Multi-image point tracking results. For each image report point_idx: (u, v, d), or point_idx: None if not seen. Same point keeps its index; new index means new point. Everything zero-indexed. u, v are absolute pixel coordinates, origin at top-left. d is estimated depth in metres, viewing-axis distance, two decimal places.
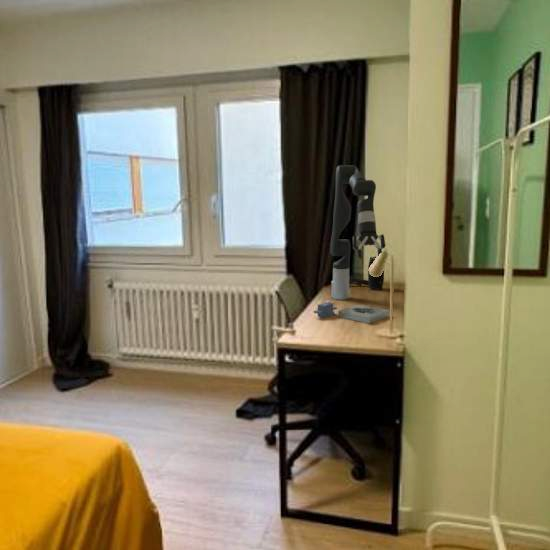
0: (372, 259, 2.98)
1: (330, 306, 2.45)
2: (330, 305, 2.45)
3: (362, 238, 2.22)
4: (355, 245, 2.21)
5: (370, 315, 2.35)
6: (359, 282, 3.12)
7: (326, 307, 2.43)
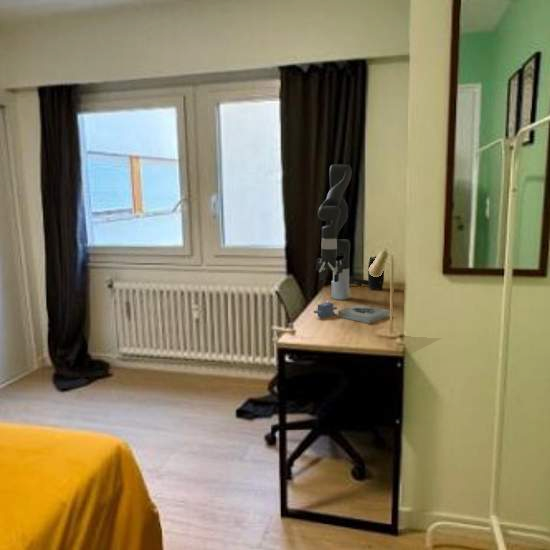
0: (372, 259, 2.98)
1: (330, 306, 2.45)
2: (330, 305, 2.45)
3: (322, 262, 2.43)
4: (317, 268, 2.46)
5: (370, 315, 2.35)
6: (359, 282, 3.12)
7: (326, 307, 2.43)
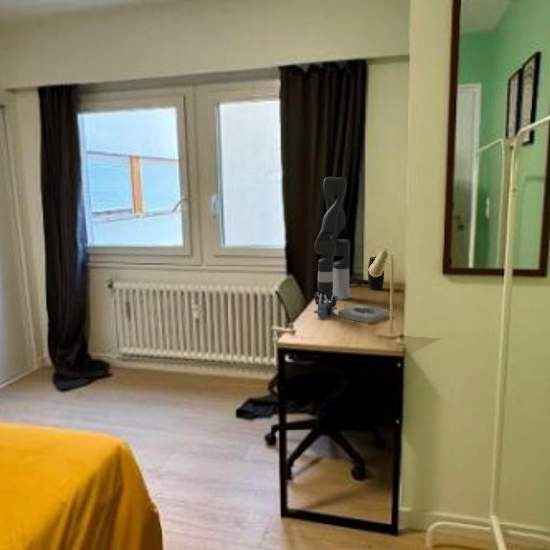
0: (372, 259, 2.98)
1: None
2: None
3: (319, 295, 2.46)
4: (316, 302, 2.48)
5: (370, 315, 2.35)
6: (359, 282, 3.12)
7: (326, 307, 2.43)
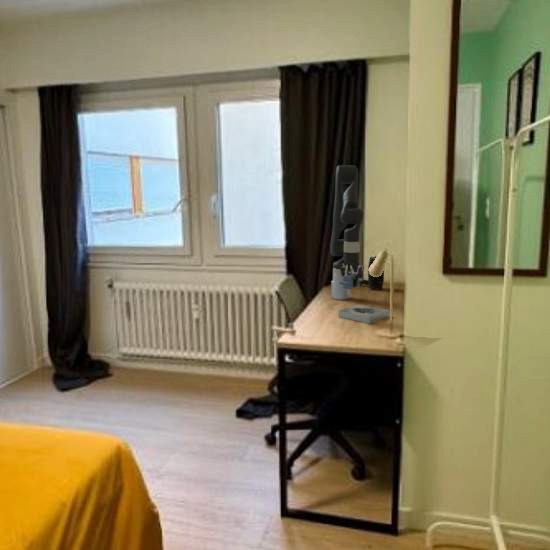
0: (372, 259, 2.98)
1: None
2: None
3: (345, 266, 2.41)
4: (342, 273, 2.43)
5: (370, 315, 2.35)
6: (360, 282, 3.12)
7: (352, 278, 2.38)
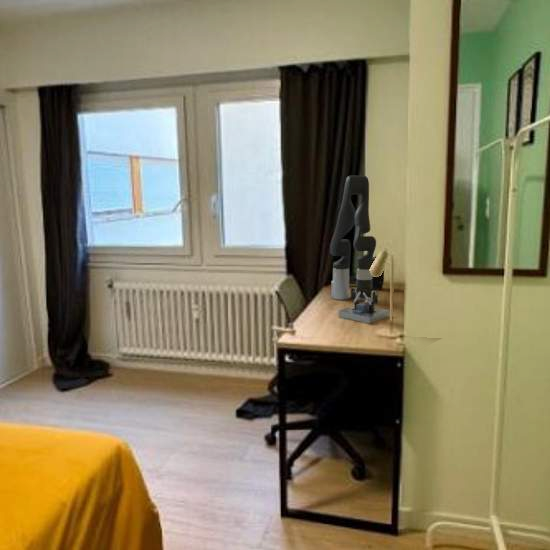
0: (372, 259, 2.98)
1: (368, 306, 2.42)
2: None
3: (357, 292, 2.43)
4: (352, 297, 2.46)
5: (370, 315, 2.35)
6: None
7: (365, 307, 2.40)
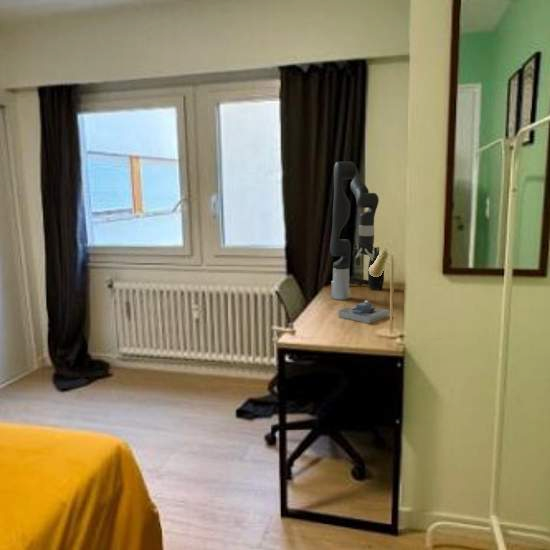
0: None
1: (368, 306, 2.42)
2: (369, 305, 2.43)
3: (359, 248, 2.48)
4: (353, 254, 2.51)
5: (370, 315, 2.35)
6: (360, 282, 3.12)
7: (365, 307, 2.40)
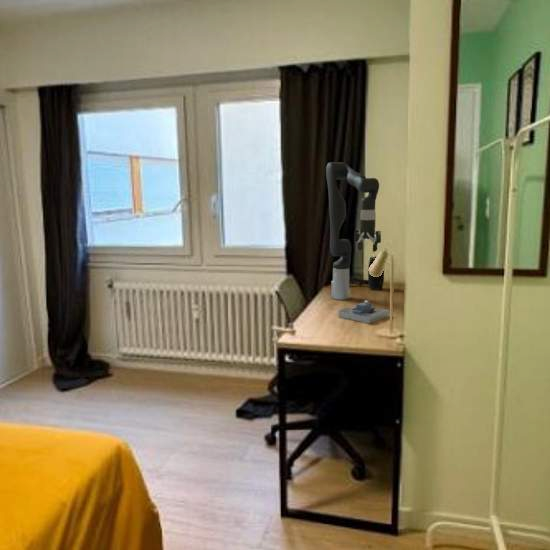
0: (372, 259, 2.98)
1: (368, 306, 2.42)
2: (369, 305, 2.43)
3: (361, 233, 2.53)
4: (355, 238, 2.56)
5: (370, 315, 2.35)
6: (360, 282, 3.12)
7: (365, 307, 2.40)
